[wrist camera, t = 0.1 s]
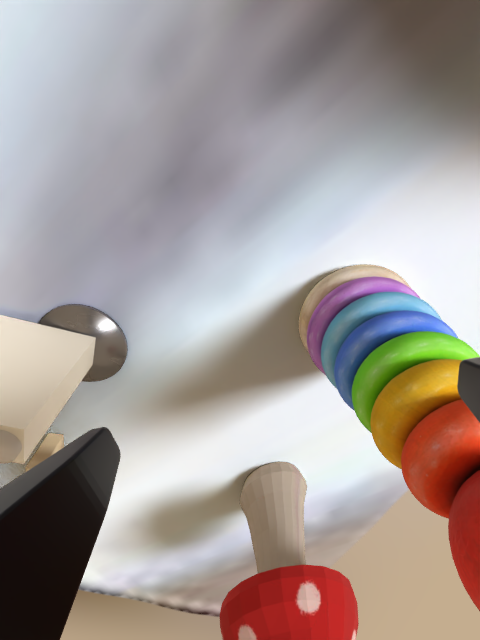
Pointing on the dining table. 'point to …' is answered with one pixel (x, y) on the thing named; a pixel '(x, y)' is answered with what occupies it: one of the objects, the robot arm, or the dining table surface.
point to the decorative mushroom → (285, 570)
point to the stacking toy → (403, 392)
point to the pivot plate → (94, 324)
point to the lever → (36, 381)
